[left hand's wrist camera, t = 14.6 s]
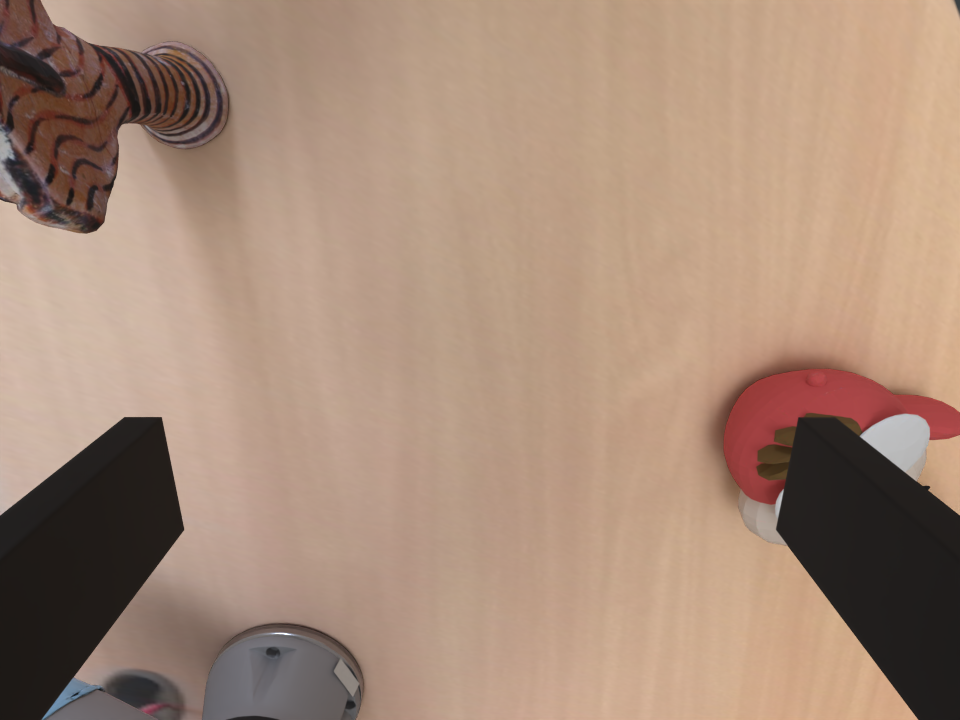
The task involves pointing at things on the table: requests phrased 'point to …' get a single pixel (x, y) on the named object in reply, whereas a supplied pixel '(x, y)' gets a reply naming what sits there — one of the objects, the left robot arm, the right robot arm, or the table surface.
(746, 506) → the toy
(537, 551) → the table surface
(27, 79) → the figurine
